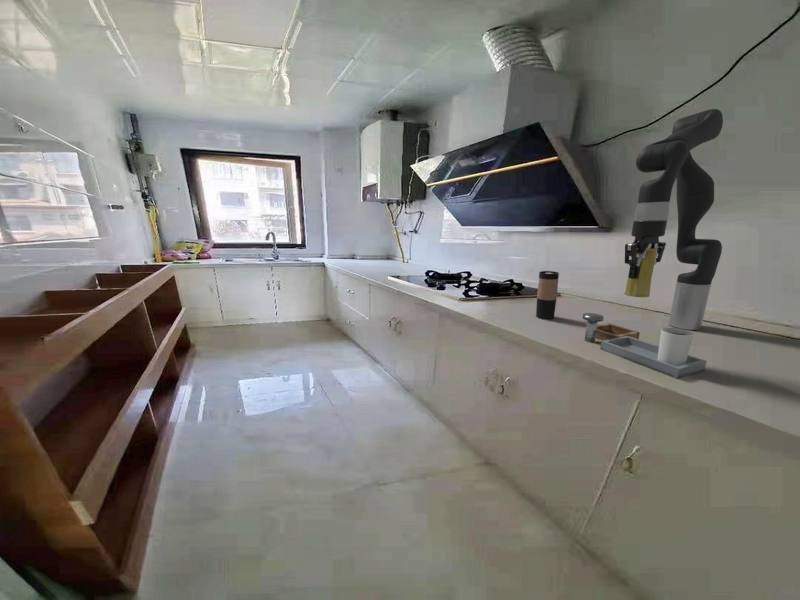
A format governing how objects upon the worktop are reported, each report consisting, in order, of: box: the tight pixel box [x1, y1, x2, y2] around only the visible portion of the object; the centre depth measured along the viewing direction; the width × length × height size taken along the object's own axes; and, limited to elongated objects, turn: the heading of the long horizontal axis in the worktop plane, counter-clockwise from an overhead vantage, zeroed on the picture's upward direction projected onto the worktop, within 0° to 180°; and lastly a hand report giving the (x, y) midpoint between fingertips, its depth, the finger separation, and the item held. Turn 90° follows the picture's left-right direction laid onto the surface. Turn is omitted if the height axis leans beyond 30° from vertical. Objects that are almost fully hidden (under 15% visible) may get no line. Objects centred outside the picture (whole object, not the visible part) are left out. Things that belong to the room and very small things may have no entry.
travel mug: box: [535, 270, 560, 321], centre depth 129 cm, size 8×8×20 cm
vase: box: [624, 248, 657, 298], centre depth 89 cm, size 6×6×14 cm
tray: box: [599, 336, 708, 380], centre depth 89 cm, size 12×21×3 cm, turn 20°
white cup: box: [657, 326, 694, 366], centre depth 83 cm, size 7×7×10 cm
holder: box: [595, 322, 641, 341], centre depth 106 cm, size 11×11×3 cm
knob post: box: [582, 312, 604, 343], centre depth 103 cm, size 6×6×9 cm
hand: (639, 277), depth 89 cm, fingers closed on vase, 5 cm apart
